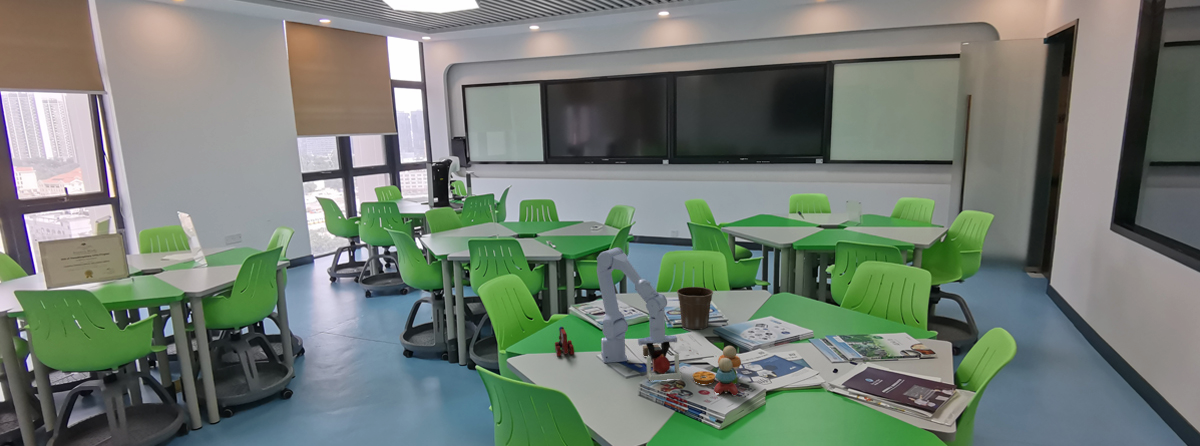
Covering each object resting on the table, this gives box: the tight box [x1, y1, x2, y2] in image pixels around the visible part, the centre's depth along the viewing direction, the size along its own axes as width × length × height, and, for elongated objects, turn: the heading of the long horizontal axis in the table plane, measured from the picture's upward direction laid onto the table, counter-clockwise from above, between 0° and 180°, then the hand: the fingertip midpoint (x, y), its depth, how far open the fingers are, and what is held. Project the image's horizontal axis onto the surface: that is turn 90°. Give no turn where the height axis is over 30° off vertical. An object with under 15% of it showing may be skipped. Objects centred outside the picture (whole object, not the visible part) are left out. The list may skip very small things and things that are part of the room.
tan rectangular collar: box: [642, 344, 660, 357], centre depth 235 cm, size 6×2×4 cm, turn 97°
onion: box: [654, 354, 671, 374], centre depth 216 cm, size 6×6×8 cm
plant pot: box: [676, 286, 714, 330], centre depth 268 cm, size 16×16×16 cm
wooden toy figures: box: [692, 345, 742, 396], centre depth 205 cm, size 18×17×12 cm
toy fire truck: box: [554, 326, 575, 357], centre depth 241 cm, size 7×12×10 cm, turn 11°
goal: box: [645, 353, 682, 382], centre depth 213 cm, size 12×5×8 cm, turn 97°
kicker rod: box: [648, 346, 662, 372], centre depth 228 cm, size 5×19×7 cm, turn 7°
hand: (658, 361), depth 222 cm, fingers closed on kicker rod, 3 cm apart
